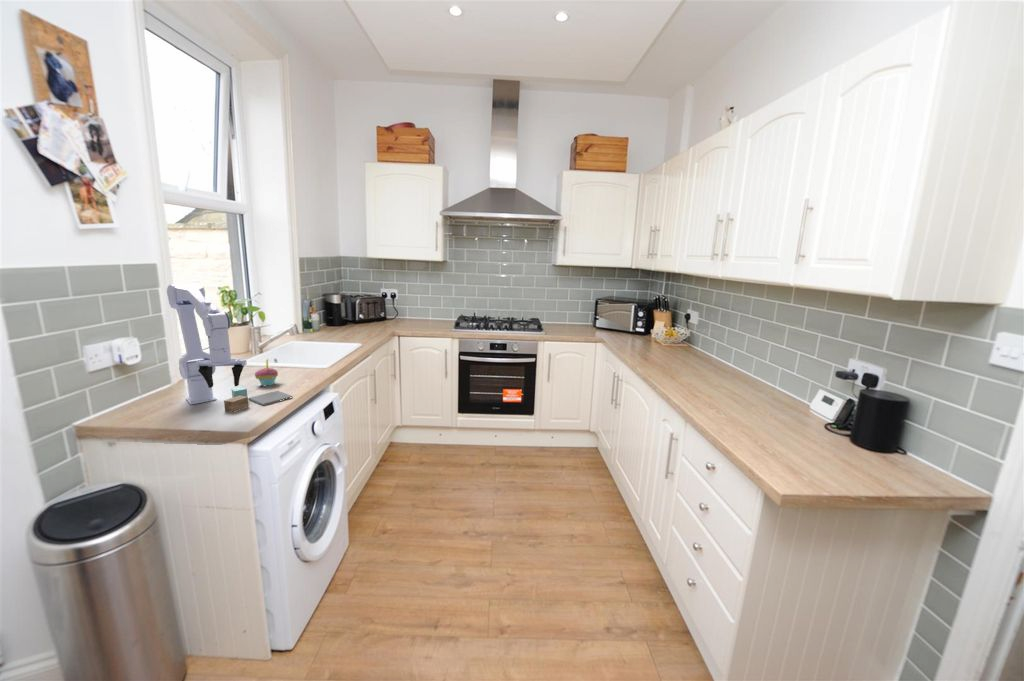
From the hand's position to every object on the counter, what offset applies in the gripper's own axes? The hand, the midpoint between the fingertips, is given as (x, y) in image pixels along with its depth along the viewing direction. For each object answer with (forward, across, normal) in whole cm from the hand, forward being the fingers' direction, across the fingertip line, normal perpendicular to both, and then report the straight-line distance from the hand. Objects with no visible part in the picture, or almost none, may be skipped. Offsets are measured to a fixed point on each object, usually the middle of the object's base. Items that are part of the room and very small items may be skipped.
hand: (224, 386), depth 140 cm
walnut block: (+10, +2, +4) cm, 11 cm away
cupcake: (+10, +5, +34) cm, 36 cm away
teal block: (+10, 0, +13) cm, 16 cm away
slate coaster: (+10, +11, +13) cm, 20 cm away
